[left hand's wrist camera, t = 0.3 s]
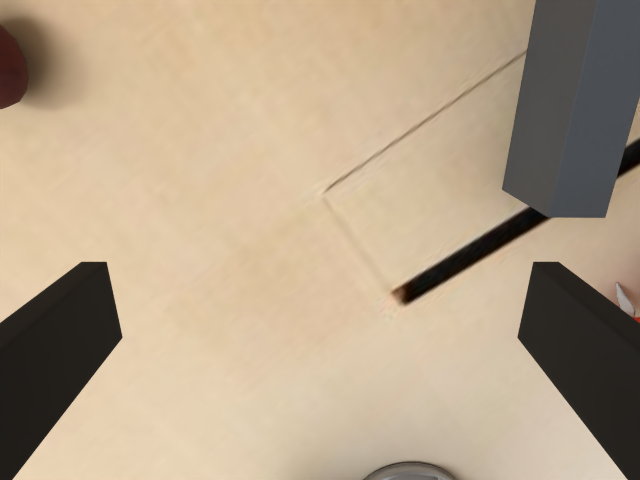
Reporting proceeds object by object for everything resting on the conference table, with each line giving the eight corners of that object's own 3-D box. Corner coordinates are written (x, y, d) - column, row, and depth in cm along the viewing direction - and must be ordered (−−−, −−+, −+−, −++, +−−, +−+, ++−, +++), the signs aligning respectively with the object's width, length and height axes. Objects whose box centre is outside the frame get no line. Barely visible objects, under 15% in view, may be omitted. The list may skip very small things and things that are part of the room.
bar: (547, 190, 40) (605, 218, 32) (501, 189, 40) (547, 217, 32) (614, -111, 31) (718, -177, 23) (555, -111, 31) (638, -178, 23)
